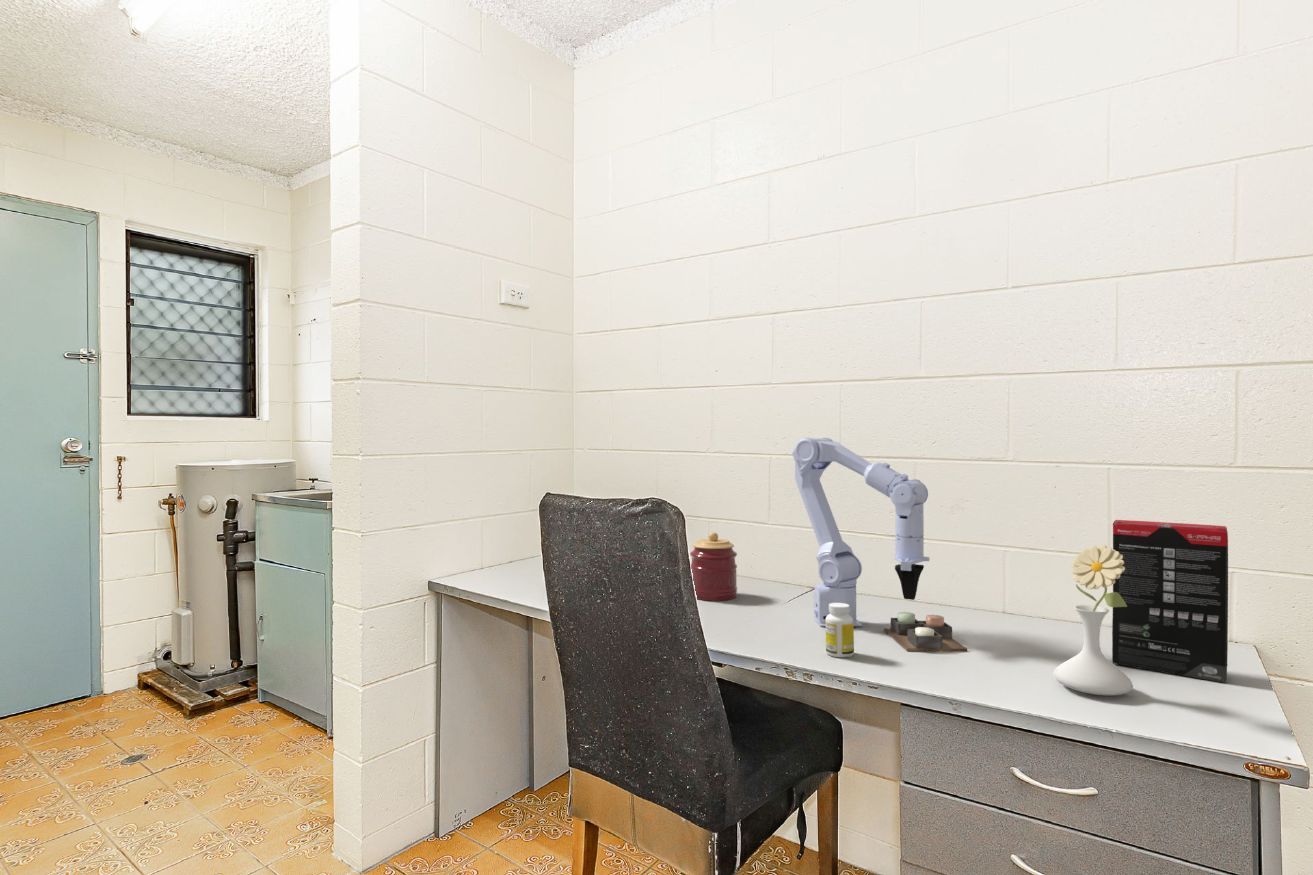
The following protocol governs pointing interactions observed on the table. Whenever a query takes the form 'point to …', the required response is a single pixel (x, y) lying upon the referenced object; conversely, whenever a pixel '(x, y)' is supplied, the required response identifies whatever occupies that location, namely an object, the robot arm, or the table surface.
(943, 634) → the button panel
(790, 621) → the table surface
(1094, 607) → the flower in vase
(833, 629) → the supplement bottle
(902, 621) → the sage button
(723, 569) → the canister
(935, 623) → the terracotta button
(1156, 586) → the graphics card box
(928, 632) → the cream button
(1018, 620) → the table surface
